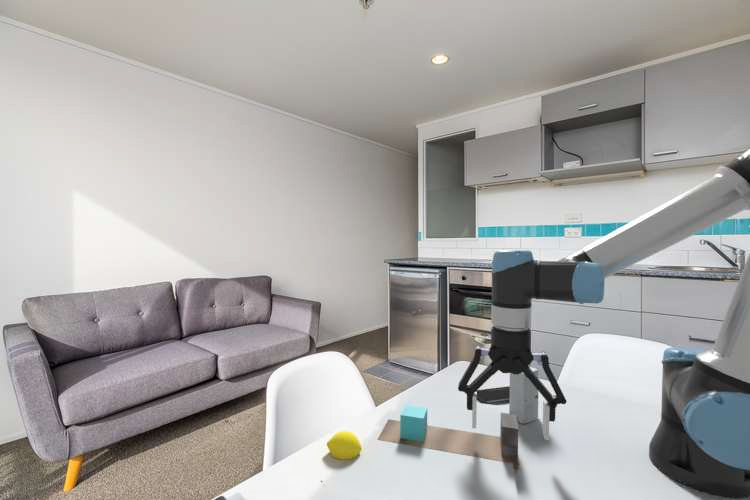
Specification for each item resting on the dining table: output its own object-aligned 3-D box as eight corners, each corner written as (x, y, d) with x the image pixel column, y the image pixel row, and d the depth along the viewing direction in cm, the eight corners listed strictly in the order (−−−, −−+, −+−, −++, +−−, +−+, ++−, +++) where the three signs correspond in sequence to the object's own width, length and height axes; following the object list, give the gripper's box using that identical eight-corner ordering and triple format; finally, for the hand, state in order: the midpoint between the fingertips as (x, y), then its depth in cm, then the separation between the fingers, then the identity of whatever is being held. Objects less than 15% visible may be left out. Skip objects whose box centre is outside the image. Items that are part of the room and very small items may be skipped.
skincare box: (524, 425, 86) (525, 374, 85) (507, 417, 90) (508, 368, 89) (539, 418, 89) (540, 369, 89) (523, 410, 93) (523, 364, 93)
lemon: (360, 453, 75) (364, 428, 75) (358, 470, 69) (362, 443, 69) (327, 448, 75) (330, 423, 75) (322, 465, 70) (326, 437, 69)
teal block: (427, 429, 81) (427, 407, 81) (423, 441, 76) (423, 418, 76) (405, 426, 82) (405, 404, 82) (400, 437, 78) (400, 415, 77)
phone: (532, 396, 100) (484, 402, 96) (532, 400, 100) (484, 407, 96) (514, 385, 107) (469, 390, 103) (514, 389, 107) (469, 394, 103)
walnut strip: (514, 444, 77) (515, 411, 77) (518, 470, 69) (519, 432, 69) (388, 424, 86) (388, 394, 85) (377, 444, 77) (377, 411, 77)
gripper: (575, 326, 73) (573, 430, 73) (449, 318, 80) (448, 412, 81) (585, 336, 65) (582, 451, 66) (446, 326, 73) (444, 429, 73)
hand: (509, 430), depth 73 cm, fingers open, 13 cm apart
